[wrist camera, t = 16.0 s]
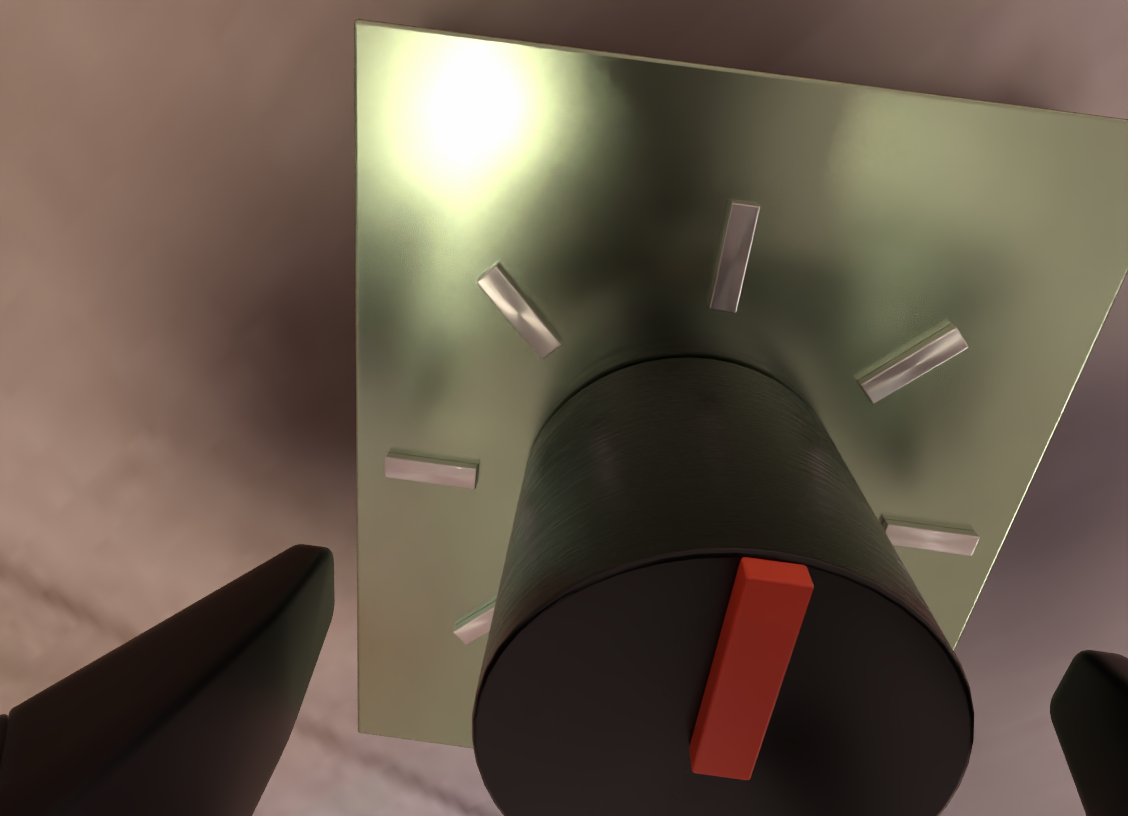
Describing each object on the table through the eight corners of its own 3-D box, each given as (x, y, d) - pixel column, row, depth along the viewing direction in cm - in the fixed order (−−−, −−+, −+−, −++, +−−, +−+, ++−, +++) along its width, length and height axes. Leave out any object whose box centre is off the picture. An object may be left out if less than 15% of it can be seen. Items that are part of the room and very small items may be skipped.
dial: (795, 644, 12) (896, 964, 8) (509, 604, 12) (451, 903, 8) (883, 380, 10) (1084, 616, 6) (538, 334, 10) (482, 536, 6)
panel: (839, 683, 16) (887, 813, 14) (399, 623, 17) (354, 741, 14) (1056, 112, 11) (1205, 129, 8) (415, 28, 11) (347, 18, 9)
